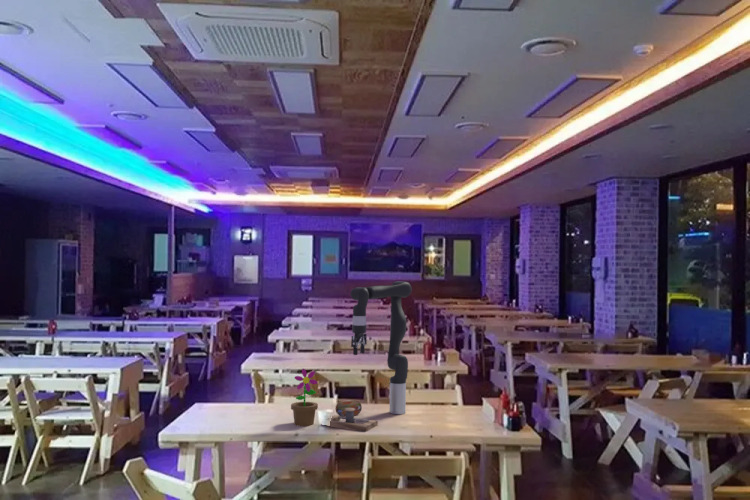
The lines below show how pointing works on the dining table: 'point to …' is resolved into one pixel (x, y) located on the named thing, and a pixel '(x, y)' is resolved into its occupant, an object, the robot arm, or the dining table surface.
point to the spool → (349, 415)
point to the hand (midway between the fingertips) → (358, 353)
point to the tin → (348, 404)
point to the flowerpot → (304, 410)
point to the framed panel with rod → (353, 424)
